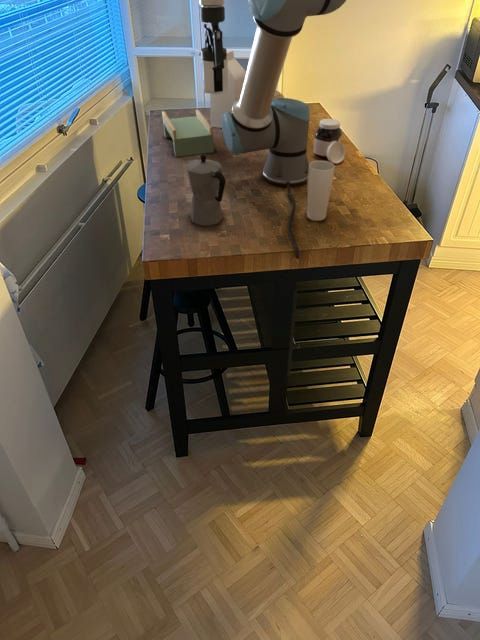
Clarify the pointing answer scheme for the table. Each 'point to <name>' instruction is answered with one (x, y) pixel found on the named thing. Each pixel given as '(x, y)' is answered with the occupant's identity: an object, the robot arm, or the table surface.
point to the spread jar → (329, 141)
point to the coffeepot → (206, 191)
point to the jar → (208, 73)
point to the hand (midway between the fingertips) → (214, 87)
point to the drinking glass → (319, 189)
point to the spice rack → (189, 134)
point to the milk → (226, 99)
